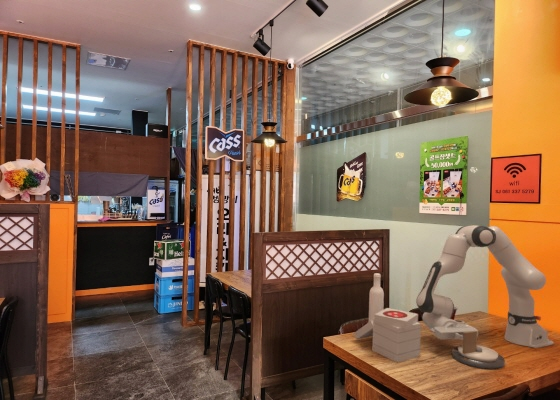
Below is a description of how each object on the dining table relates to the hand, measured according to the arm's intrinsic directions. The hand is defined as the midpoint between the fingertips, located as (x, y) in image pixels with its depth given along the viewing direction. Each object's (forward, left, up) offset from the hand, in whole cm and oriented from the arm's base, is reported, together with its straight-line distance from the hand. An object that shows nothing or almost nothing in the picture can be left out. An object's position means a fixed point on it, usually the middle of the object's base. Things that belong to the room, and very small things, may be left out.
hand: (467, 338), depth 170 cm
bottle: (+20, -46, -10) cm, 51 cm away
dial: (-5, 0, -7) cm, 9 cm away
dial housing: (-6, 0, -9) cm, 11 cm away
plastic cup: (-22, -42, -10) cm, 48 cm away
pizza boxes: (+30, -17, -10) cm, 36 cm away
